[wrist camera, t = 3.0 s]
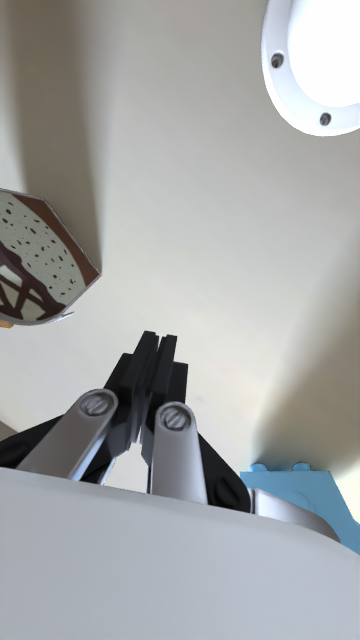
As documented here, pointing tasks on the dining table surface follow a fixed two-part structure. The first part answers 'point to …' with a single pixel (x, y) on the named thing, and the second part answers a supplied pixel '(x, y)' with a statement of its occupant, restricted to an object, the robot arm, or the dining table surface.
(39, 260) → the food container
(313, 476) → the teakettle
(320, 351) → the dining table surface
